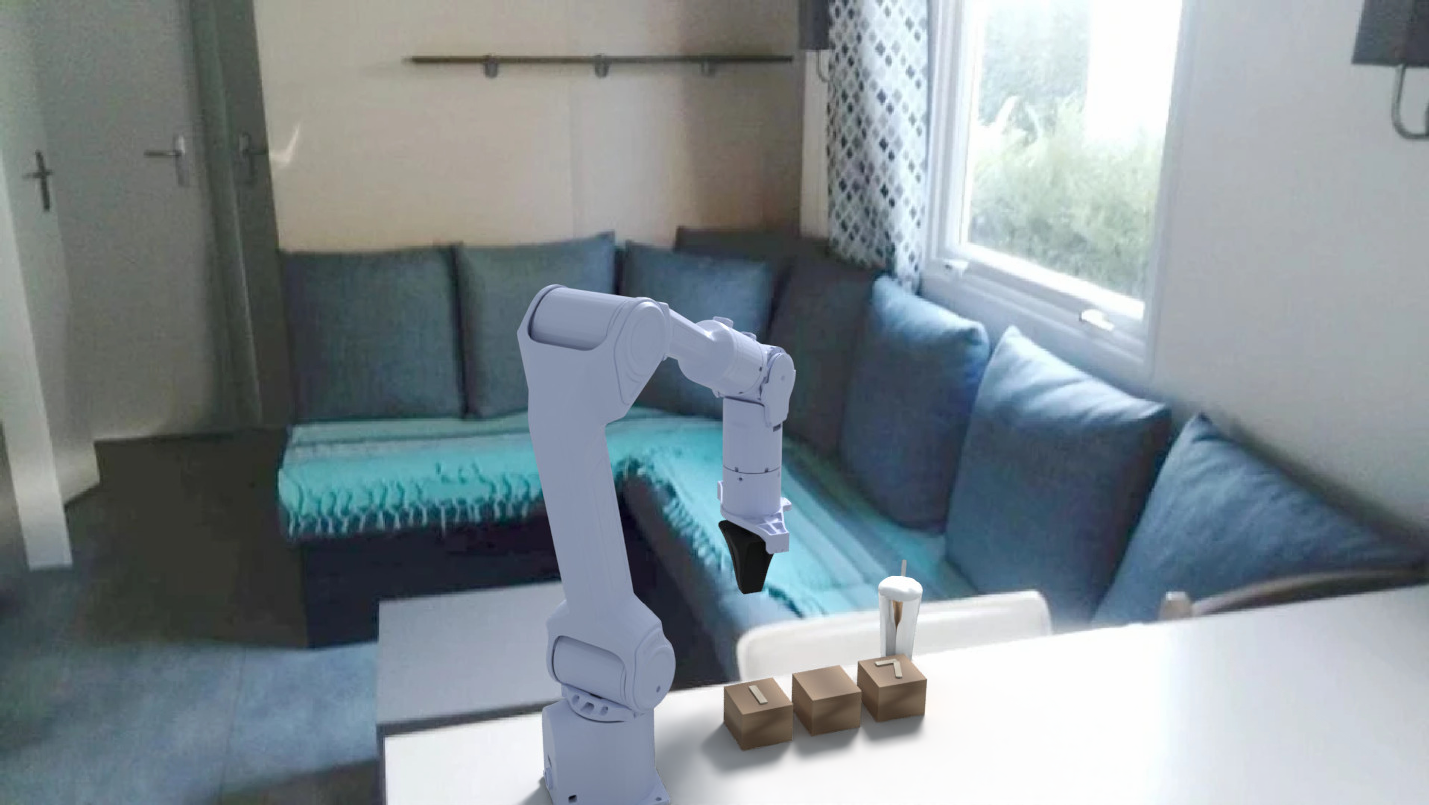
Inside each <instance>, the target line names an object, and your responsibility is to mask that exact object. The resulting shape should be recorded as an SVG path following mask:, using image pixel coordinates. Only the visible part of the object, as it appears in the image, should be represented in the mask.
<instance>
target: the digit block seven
mask: <svg viewBox="0 0 1429 805" xmlns="http://www.w3.org/2000/svg"><path fill="white" fill-rule="evenodd" d="M856 673H857V674H856V685H857V686H858V687H859V689H860V690H861V691H862V697H861V704H862V705H863V707H865V709H866V710H867V712H868V713H869V714H870V715H871V716H872V718H873V719H874V720H875V722H876V723H883V722H889V721H894V720H901V719H905V718H911V717H912V718H913V717H916V716H923V715H925V714H926V701H927V698H926V697H927V688H928V686H927V685H928V679H927V677H926V676H925V675H924V674H923V673H922V672H921V671H920V670H919V667H918V668H917V666H916V665H915V664H914V663H913V662H912V660H911V661H910V660H909V659H908V657H907V656H906V655H905V654H898V655H892V656H886V657H881V656H880V657H875V658H869V659H863V660H858V661H857V672H856Z"/></svg>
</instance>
